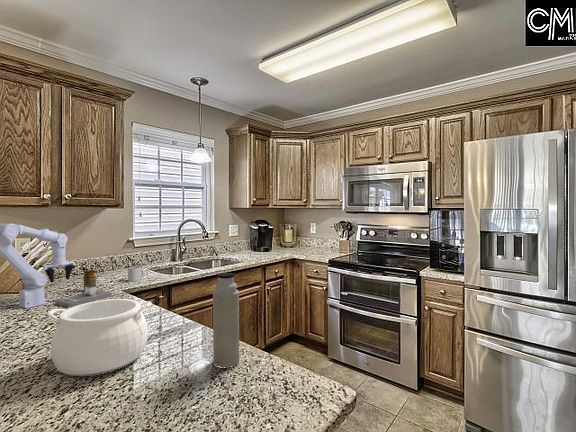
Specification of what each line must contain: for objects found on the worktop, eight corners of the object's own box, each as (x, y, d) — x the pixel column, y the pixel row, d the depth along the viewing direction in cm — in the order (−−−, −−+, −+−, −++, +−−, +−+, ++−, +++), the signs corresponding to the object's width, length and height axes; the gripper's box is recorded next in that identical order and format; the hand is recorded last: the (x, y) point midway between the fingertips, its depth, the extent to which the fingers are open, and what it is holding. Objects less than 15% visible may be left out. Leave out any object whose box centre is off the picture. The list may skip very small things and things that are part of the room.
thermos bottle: (208, 363, 99) (207, 274, 98) (228, 354, 105) (227, 270, 104) (224, 371, 94) (224, 277, 93) (244, 361, 100) (244, 273, 99)
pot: (27, 390, 84) (26, 326, 84) (66, 348, 110) (65, 299, 109) (145, 374, 92) (145, 316, 92) (156, 338, 118) (156, 292, 117)
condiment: (95, 288, 190) (95, 268, 190) (98, 291, 184) (97, 271, 183) (81, 290, 186) (81, 270, 185) (83, 293, 179) (83, 272, 179)
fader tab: (90, 295, 167) (90, 286, 166) (84, 294, 169) (84, 285, 169) (96, 293, 169) (96, 285, 169) (90, 292, 172) (90, 284, 172)
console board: (68, 307, 154) (68, 303, 154) (55, 304, 160) (55, 299, 160) (111, 296, 174) (111, 292, 173) (98, 293, 179) (98, 289, 179)
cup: (126, 280, 210) (126, 267, 210) (142, 278, 217) (142, 265, 216) (129, 282, 205) (129, 269, 204) (146, 280, 211) (145, 267, 211)
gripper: (47, 258, 162) (48, 284, 162) (77, 253, 175) (78, 278, 175) (40, 257, 165) (41, 282, 166) (70, 253, 178) (71, 277, 178)
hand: (59, 280), depth 171 cm, fingers open, 7 cm apart
